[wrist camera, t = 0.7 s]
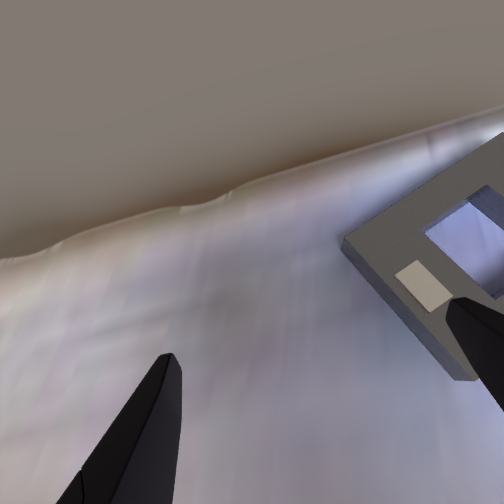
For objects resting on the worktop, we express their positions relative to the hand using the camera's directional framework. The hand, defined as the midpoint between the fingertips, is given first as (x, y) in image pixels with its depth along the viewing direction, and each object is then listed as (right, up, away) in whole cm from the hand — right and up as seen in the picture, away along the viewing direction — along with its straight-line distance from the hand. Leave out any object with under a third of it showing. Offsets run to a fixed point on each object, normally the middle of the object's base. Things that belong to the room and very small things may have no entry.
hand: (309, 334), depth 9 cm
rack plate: (+16, +3, +13) cm, 21 cm away
